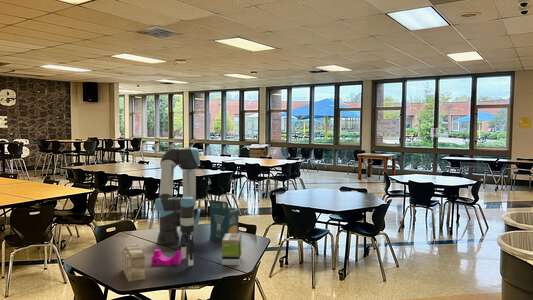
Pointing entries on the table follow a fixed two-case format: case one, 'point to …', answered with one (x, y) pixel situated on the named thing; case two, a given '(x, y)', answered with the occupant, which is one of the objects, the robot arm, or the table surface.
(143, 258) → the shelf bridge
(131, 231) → the table surface
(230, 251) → the tea box
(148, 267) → the table surface
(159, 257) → the toy block
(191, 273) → the table surface
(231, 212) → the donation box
